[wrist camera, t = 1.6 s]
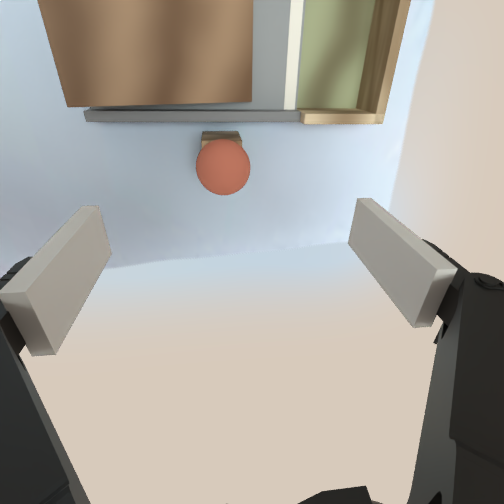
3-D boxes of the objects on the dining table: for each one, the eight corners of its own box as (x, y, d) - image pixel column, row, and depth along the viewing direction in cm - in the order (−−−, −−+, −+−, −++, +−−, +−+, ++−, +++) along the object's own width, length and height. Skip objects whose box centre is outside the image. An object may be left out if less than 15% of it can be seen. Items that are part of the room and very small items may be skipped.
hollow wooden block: (205, 166, 30) (204, 181, 27) (202, 131, 29) (201, 141, 25) (238, 166, 31) (242, 180, 27) (237, 131, 29) (241, 141, 25)
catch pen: (292, 116, 29) (304, 124, 25) (304, -37, 23) (322, -58, 19) (360, 116, 30) (382, 124, 26) (388, -33, 24) (422, -51, 20)
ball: (199, 185, 27) (197, 204, 23) (194, 134, 25) (192, 146, 21) (247, 184, 28) (252, 202, 24) (247, 134, 25) (253, 145, 22)
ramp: (91, 99, 25) (62, 107, 20) (60, -29, 21) (14, -59, 16) (250, 100, 26) (259, 108, 22) (252, -19, 22) (263, -44, 17)
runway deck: (98, 116, 27) (86, 121, 24) (58, -52, 21) (37, -68, 19) (292, 116, 29) (300, 121, 26) (304, -37, 23) (316, -51, 21)
